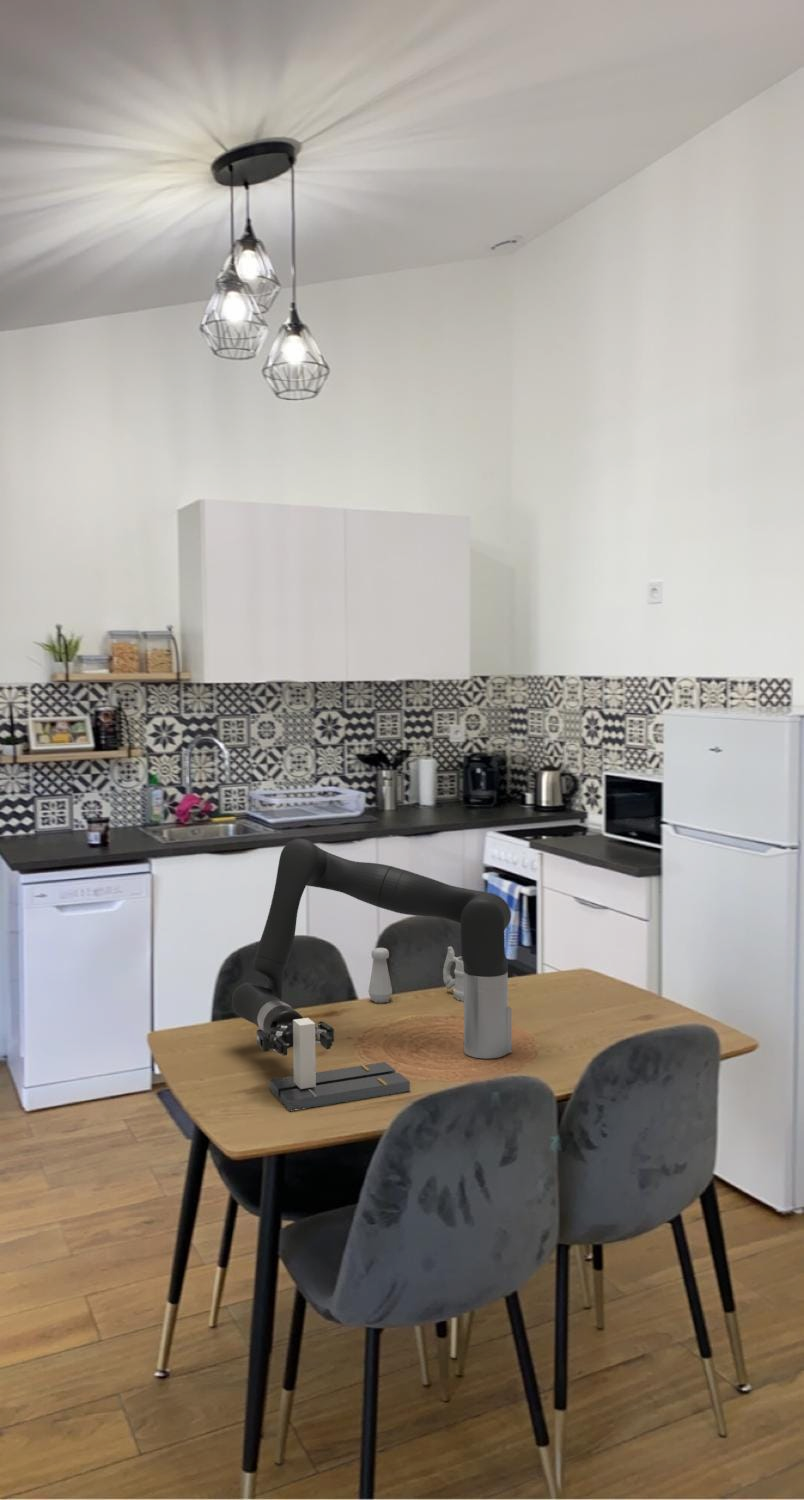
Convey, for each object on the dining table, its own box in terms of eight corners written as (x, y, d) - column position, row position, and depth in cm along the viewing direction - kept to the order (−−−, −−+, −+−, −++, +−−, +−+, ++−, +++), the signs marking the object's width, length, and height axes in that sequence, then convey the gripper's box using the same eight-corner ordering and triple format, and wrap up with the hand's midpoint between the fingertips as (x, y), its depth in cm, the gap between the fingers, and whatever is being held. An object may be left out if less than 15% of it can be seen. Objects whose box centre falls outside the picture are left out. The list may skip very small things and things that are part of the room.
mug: (471, 1004, 270) (471, 955, 269) (434, 995, 278) (433, 948, 277) (490, 997, 276) (490, 949, 275) (453, 989, 283) (453, 942, 283)
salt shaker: (389, 1004, 270) (389, 951, 269) (366, 1003, 271) (366, 951, 270) (394, 998, 275) (394, 946, 275) (371, 997, 277) (371, 945, 276)
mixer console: (384, 1071, 223) (384, 1060, 222) (409, 1091, 212) (409, 1080, 211) (269, 1090, 213) (269, 1078, 213) (289, 1111, 202) (289, 1099, 202)
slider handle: (308, 1085, 212) (308, 1017, 211) (315, 1092, 208) (315, 1023, 207) (293, 1087, 210) (293, 1019, 210) (300, 1094, 207) (299, 1025, 206)
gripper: (245, 1009, 219) (270, 1032, 204) (314, 1000, 225) (343, 1022, 210) (246, 1046, 219) (271, 1072, 204) (314, 1037, 225) (343, 1061, 210)
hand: (307, 1047), depth 207 cm, fingers open, 8 cm apart
